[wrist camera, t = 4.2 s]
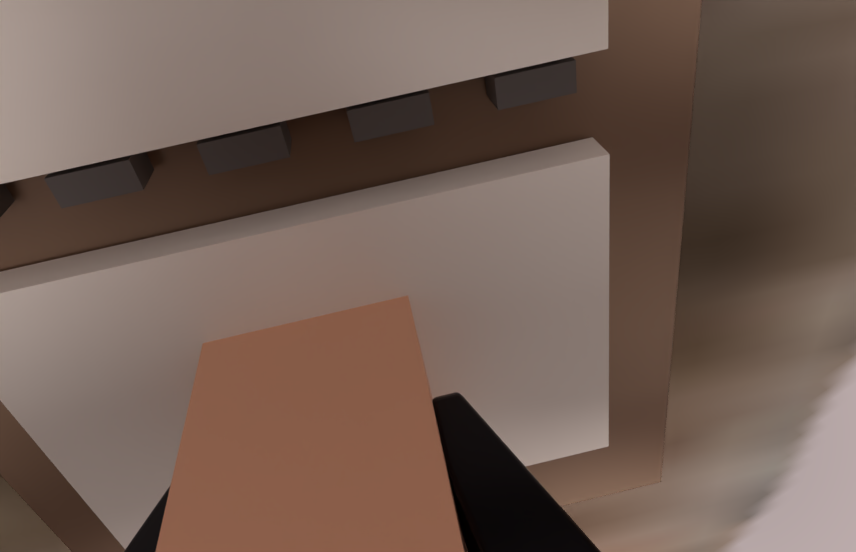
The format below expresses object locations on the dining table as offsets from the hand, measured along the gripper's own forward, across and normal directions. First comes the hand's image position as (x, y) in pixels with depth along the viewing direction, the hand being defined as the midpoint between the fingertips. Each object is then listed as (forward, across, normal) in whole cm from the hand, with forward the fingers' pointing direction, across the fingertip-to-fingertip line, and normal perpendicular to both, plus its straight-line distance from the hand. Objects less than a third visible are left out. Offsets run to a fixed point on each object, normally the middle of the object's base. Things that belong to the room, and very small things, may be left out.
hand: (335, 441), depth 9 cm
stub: (+2, 0, 0) cm, 2 cm away
